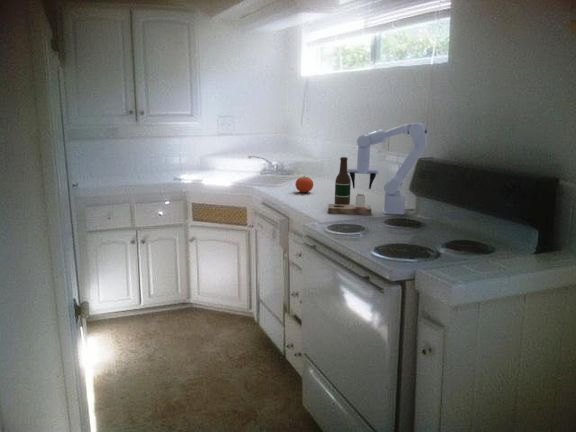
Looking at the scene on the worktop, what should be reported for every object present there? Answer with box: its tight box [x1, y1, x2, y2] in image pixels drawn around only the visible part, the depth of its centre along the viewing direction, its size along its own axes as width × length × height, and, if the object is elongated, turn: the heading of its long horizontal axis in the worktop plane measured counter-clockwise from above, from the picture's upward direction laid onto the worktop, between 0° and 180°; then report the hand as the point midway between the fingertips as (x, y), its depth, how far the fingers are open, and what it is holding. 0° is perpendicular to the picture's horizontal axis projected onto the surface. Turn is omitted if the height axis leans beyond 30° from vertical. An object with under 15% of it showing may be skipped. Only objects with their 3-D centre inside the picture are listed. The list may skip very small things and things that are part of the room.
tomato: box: [295, 175, 314, 193], centre depth 298 cm, size 10×10×10 cm
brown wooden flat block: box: [327, 203, 373, 216], centre depth 248 cm, size 20×10×3 cm, turn 85°
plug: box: [355, 192, 366, 207], centre depth 246 cm, size 4×4×6 cm
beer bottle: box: [334, 156, 352, 205], centre depth 263 cm, size 8×8×24 cm
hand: (361, 188), depth 251 cm, fingers open, 7 cm apart
